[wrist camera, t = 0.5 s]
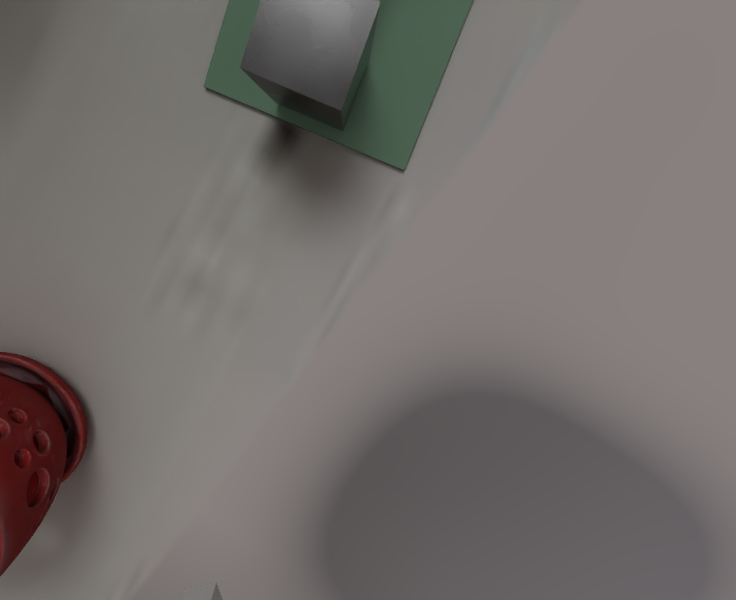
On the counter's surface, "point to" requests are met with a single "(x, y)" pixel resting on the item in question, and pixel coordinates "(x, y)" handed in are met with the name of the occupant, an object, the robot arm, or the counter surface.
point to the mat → (379, 84)
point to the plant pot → (33, 447)
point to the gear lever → (312, 54)
